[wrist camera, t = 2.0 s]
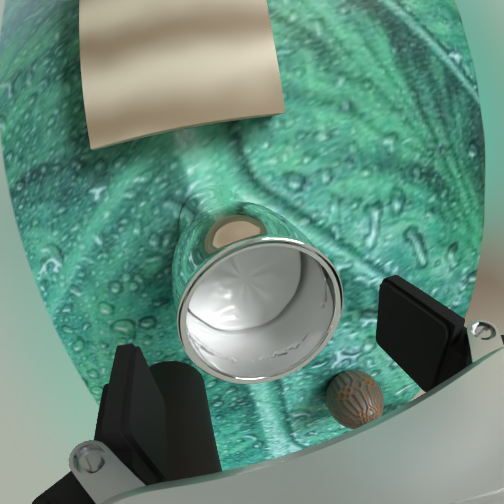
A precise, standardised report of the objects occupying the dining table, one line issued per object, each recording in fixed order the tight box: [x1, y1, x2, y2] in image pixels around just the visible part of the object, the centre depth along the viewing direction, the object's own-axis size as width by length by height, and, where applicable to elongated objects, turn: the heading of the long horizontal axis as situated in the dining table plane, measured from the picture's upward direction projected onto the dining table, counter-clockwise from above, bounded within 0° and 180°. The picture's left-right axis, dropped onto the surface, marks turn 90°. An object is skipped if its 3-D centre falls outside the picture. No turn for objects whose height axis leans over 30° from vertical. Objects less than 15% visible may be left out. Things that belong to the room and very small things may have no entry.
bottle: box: [149, 361, 222, 482], centre depth 20 cm, size 7×7×20 cm
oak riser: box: [79, 0, 285, 149], centre depth 17 cm, size 16×14×3 cm
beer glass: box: [171, 186, 343, 384], centre depth 18 cm, size 7×7×15 cm
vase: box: [326, 370, 384, 429], centre depth 32 cm, size 7×7×9 cm
